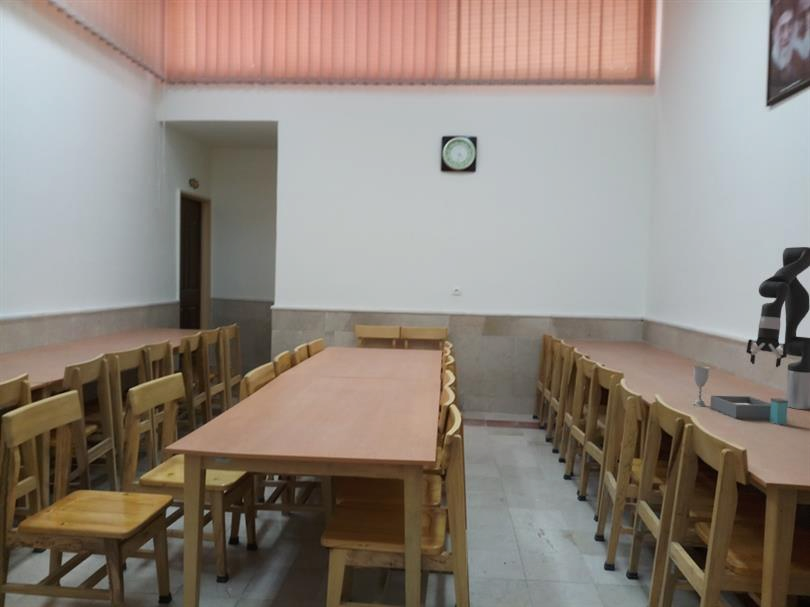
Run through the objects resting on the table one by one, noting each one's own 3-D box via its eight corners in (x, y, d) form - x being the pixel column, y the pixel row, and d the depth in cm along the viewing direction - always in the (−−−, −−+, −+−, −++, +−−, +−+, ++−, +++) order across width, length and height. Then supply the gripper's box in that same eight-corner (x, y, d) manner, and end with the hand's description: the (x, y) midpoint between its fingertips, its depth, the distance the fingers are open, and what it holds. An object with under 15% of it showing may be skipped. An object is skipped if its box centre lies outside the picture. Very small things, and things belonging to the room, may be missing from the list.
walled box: (748, 409, 248) (749, 396, 248) (777, 419, 230) (777, 405, 230) (710, 408, 247) (710, 395, 247) (735, 418, 229) (736, 405, 229)
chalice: (687, 403, 256) (689, 366, 255) (697, 402, 259) (699, 365, 258) (700, 407, 249) (702, 368, 249) (711, 406, 252) (713, 368, 251)
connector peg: (779, 421, 226) (780, 398, 225) (786, 424, 222) (788, 400, 221) (769, 421, 226) (770, 398, 225) (776, 424, 222) (778, 400, 221)
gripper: (790, 330, 229) (785, 368, 229) (750, 326, 238) (746, 363, 238) (788, 329, 223) (784, 368, 223) (748, 325, 233) (744, 362, 232)
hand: (764, 365), depth 231 cm, fingers open, 8 cm apart
